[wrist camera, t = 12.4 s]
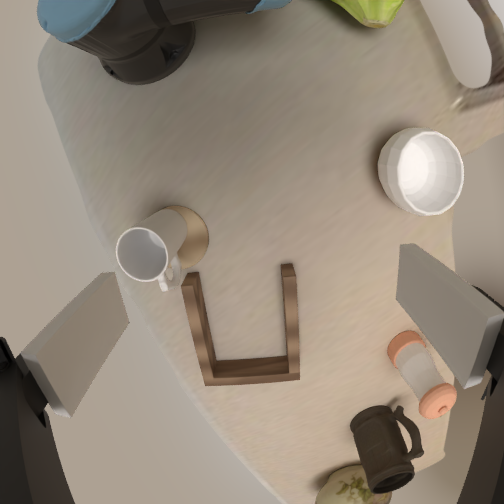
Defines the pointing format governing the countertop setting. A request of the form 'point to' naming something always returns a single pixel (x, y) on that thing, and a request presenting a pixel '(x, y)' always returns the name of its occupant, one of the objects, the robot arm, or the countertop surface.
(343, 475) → the pitcher
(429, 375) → the salt shaker
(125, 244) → the mug
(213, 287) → the countertop surface
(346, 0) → the lettuce
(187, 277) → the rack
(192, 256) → the coaster
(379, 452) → the beer stein
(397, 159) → the white bowl
